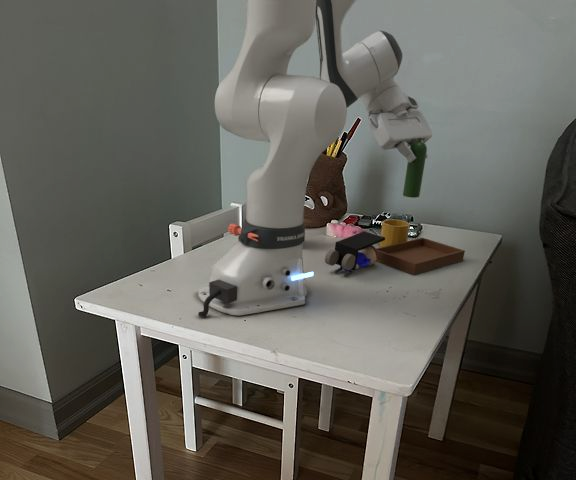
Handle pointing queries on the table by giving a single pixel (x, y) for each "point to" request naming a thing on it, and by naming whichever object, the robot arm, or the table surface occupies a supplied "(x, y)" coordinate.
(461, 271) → the table surface
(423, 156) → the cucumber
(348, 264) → the figurine character
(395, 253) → the tray
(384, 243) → the cup
